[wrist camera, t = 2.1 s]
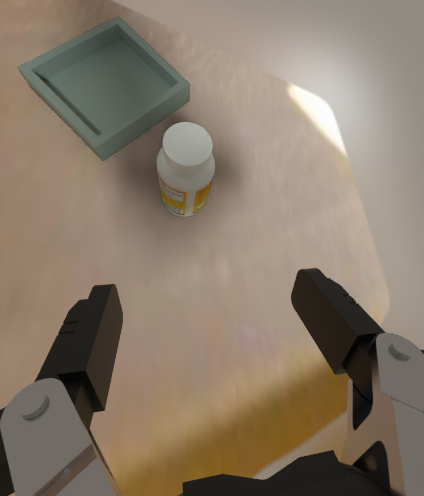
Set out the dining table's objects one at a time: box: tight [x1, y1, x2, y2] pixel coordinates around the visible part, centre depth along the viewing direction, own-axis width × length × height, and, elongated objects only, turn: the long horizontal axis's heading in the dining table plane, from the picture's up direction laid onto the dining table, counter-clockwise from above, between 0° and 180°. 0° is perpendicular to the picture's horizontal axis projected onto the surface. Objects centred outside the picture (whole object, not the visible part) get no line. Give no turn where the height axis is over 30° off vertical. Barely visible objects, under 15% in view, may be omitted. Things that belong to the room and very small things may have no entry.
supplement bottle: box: [157, 122, 215, 217], centre depth 23 cm, size 5×5×10 cm
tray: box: [17, 16, 190, 161], centre depth 28 cm, size 14×13×2 cm
